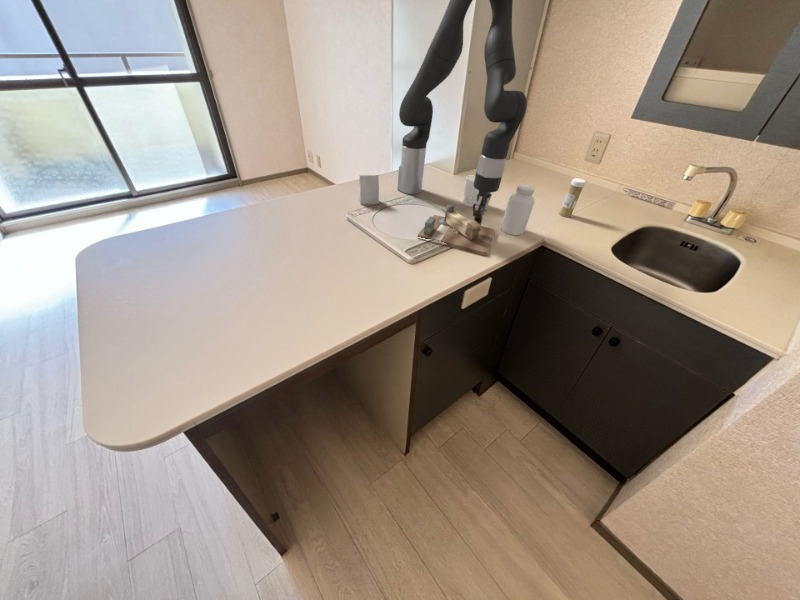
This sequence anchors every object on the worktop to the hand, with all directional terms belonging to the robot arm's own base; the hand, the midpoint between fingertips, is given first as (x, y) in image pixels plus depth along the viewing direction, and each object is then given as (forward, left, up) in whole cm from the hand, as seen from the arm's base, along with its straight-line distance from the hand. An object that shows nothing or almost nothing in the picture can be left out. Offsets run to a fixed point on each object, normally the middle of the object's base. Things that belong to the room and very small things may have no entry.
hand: (476, 226), depth 105 cm
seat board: (-5, -2, -4) cm, 7 cm away
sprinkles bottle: (+28, +36, -4) cm, 46 cm away
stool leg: (-5, -1, -2) cm, 5 cm away
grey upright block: (-42, +6, -4) cm, 43 cm away
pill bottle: (+11, +11, -4) cm, 16 cm away
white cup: (-7, +26, -4) cm, 27 cm away
